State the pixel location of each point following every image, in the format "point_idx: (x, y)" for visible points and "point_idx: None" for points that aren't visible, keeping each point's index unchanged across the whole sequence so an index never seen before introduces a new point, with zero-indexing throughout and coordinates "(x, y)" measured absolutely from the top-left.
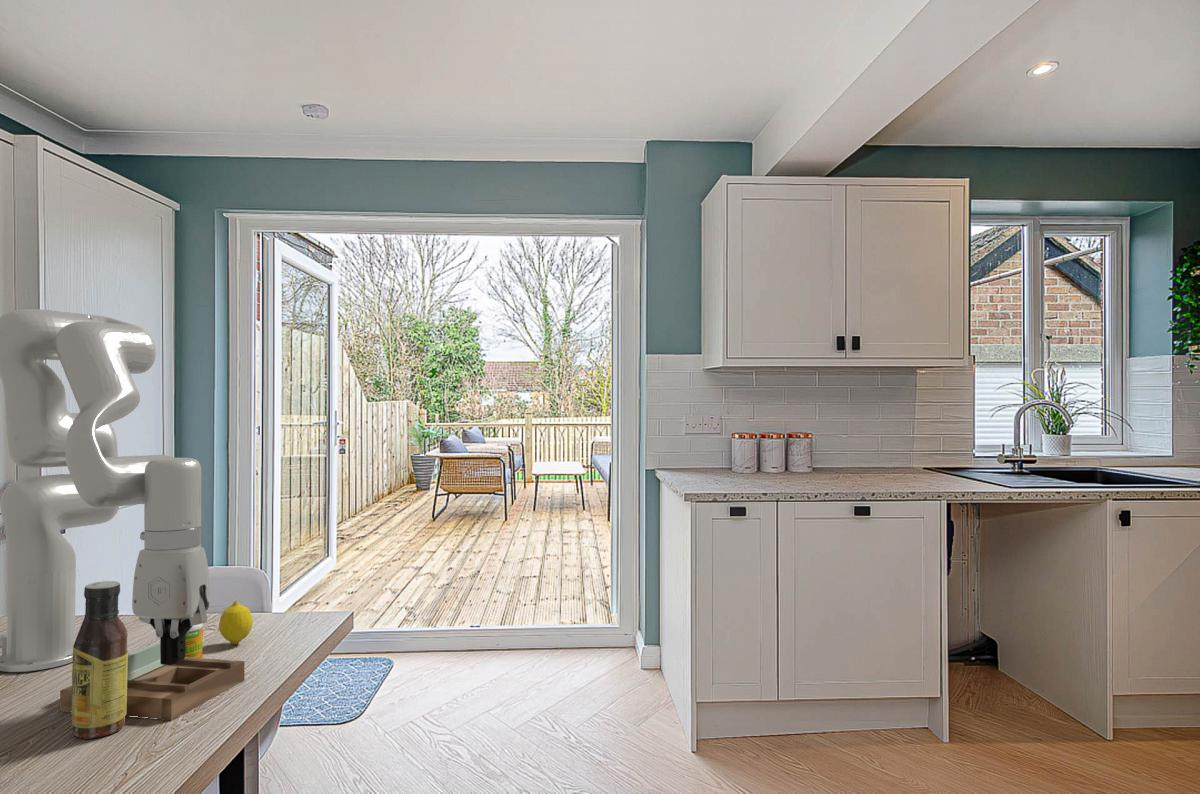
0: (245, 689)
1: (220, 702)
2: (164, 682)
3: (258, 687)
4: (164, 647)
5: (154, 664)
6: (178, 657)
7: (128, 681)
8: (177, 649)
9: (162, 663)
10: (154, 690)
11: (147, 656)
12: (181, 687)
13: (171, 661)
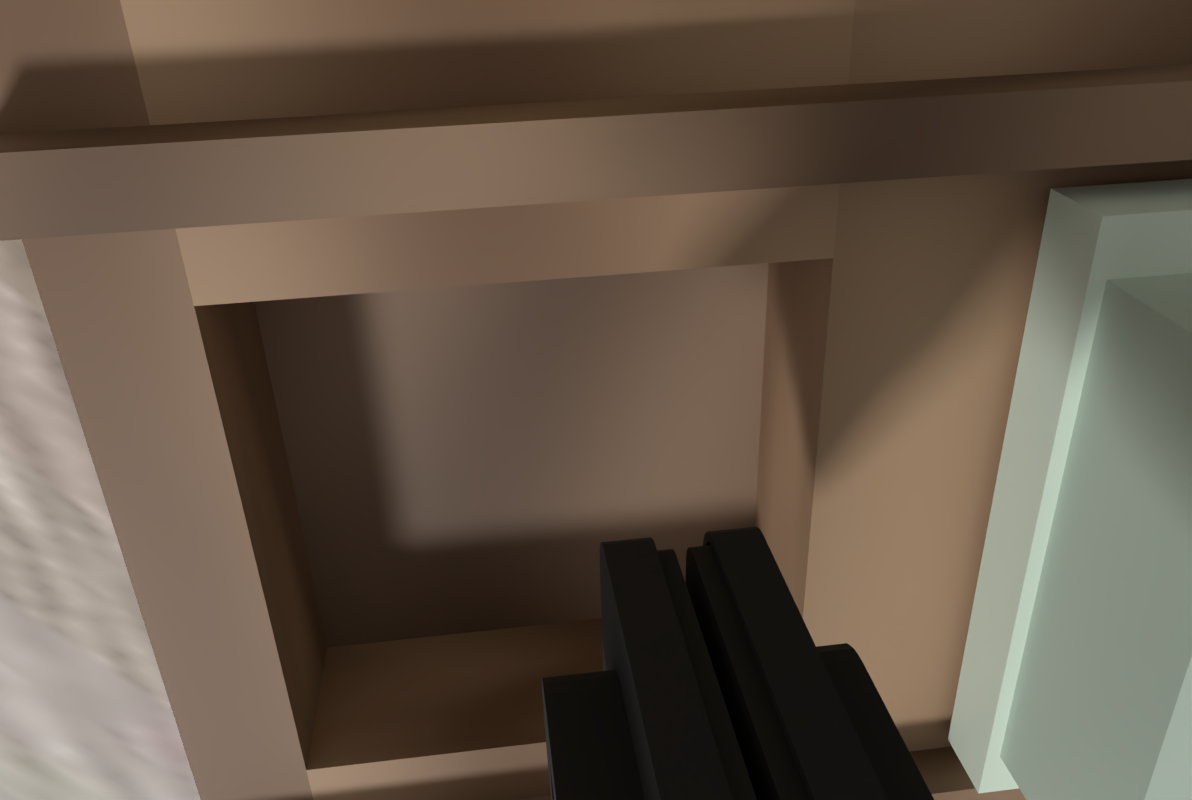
0: (88, 697)
1: (12, 418)
2: (778, 509)
3: (17, 755)
4: (769, 721)
5: (1000, 637)
6: (551, 678)
7: (966, 126)
8: (562, 766)
9: (726, 530)
10: (477, 80)
11: (1102, 647)
12: (20, 145)
13: (605, 587)
